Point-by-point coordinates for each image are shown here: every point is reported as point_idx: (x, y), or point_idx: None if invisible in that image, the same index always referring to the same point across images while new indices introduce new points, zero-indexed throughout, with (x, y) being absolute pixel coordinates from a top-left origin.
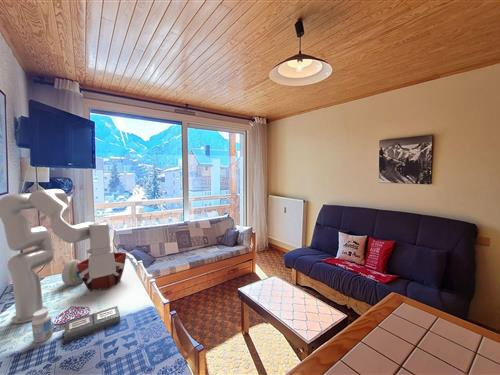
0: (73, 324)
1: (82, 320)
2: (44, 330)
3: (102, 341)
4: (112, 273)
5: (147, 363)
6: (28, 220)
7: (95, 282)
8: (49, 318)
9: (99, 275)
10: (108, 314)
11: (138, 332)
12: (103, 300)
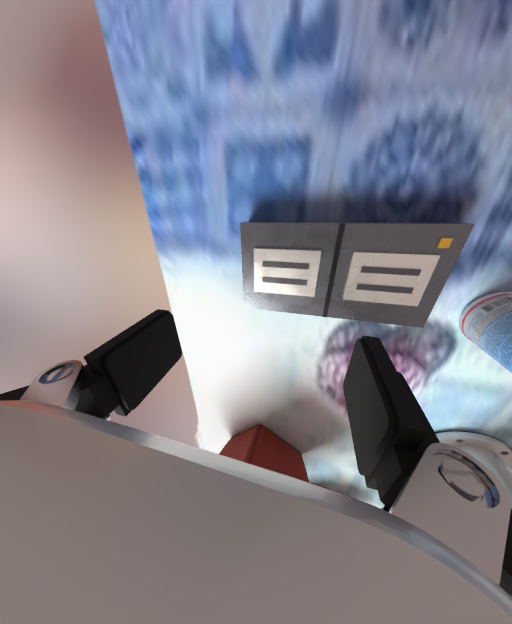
0: (409, 284)
1: (371, 289)
2: None
3: (331, 97)
4: (18, 401)
5: None
6: None
7: (283, 464)
8: None
9: (221, 530)
10: (278, 261)
11: (191, 61)
12: (278, 386)
